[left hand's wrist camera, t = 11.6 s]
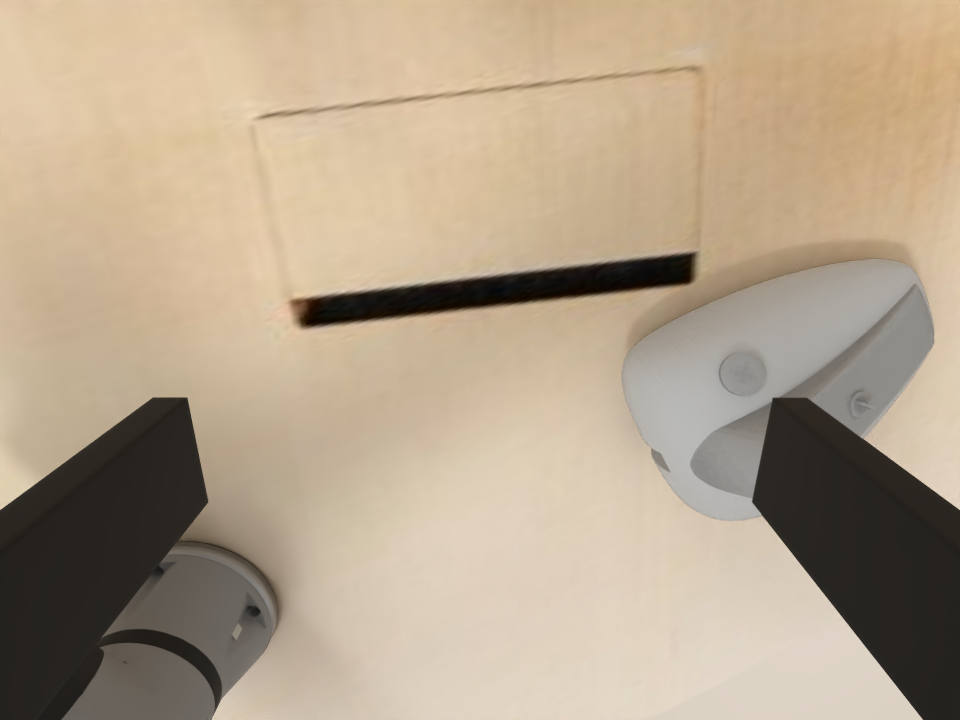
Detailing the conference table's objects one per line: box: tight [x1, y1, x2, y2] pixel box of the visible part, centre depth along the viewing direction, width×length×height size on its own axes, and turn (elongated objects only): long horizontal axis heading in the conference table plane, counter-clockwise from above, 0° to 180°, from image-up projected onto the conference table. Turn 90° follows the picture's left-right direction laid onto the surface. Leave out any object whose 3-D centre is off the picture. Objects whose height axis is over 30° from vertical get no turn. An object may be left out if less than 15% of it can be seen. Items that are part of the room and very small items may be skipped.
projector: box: [622, 259, 934, 521], centre depth 39 cm, size 22×23×15 cm
